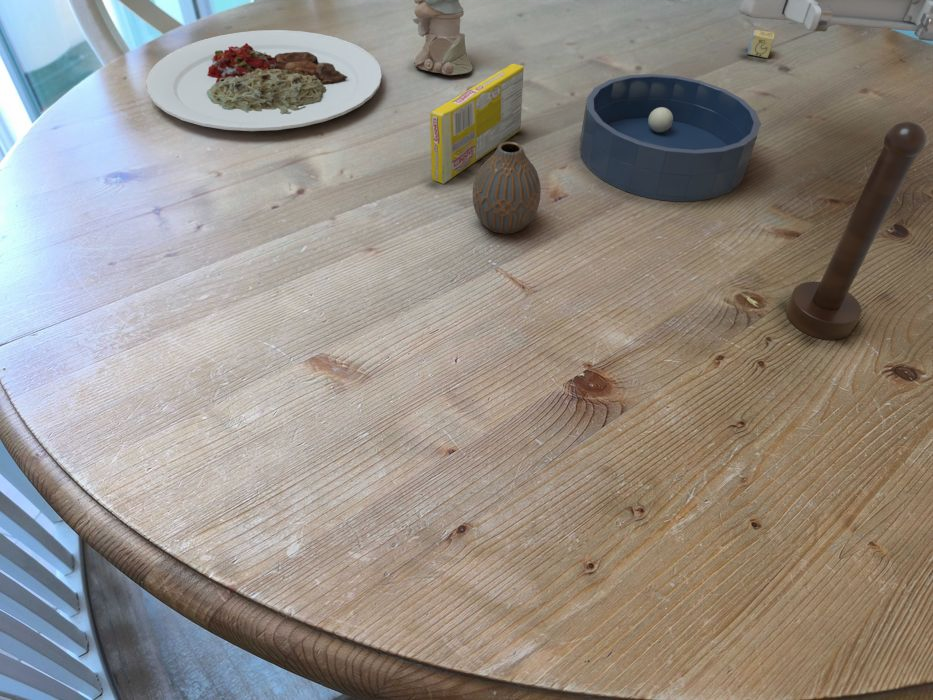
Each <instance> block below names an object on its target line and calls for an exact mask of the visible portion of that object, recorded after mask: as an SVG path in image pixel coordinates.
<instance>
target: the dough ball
mask: <svg viewBox="0 0 933 700" xmlns="http://www.w3.org/2000/svg"><path fill="white" fill-rule="evenodd" d="M672 123H673V115H672V113H671V111H670V110H669V109H667V108H664V107H659V108H656V109H654V110H653V111H652V112H651V113H650V115H649V118H648V124H649V126H650V128H651V129H652V130H653V131H655V132H659V133H661V132H665V131H667V130H668V129H669V128H670V127H671V125H672Z"/></svg>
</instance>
